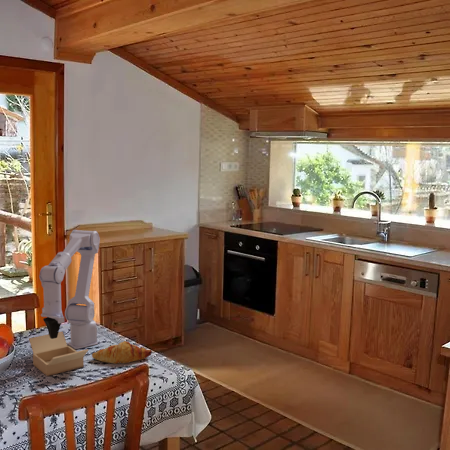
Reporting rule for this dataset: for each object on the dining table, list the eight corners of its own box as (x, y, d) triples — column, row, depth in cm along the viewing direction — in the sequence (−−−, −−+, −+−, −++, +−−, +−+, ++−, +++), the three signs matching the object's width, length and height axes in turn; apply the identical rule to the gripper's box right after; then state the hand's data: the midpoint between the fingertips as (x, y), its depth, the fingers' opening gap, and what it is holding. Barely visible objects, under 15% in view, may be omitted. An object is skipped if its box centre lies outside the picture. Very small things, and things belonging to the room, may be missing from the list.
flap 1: (67, 345, 197) (67, 346, 197) (62, 331, 199) (62, 331, 200) (34, 353, 189) (33, 354, 190) (29, 338, 192) (28, 339, 192)
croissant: (91, 372, 193) (89, 357, 188) (93, 350, 201) (91, 335, 196) (152, 369, 195) (151, 354, 191) (151, 347, 203) (151, 332, 199)
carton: (68, 356, 198) (68, 345, 197) (83, 366, 189) (83, 355, 188) (33, 365, 189) (32, 353, 189) (46, 376, 180) (46, 364, 180)
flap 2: (88, 349, 184) (88, 350, 184) (82, 356, 188) (82, 357, 188) (53, 357, 176) (53, 358, 176) (47, 364, 180) (48, 365, 180)
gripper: (33, 297, 191) (34, 334, 193) (49, 307, 180) (50, 346, 182) (52, 294, 196) (53, 330, 198) (69, 303, 185) (70, 341, 187)
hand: (53, 337), depth 190 cm, fingers closed
